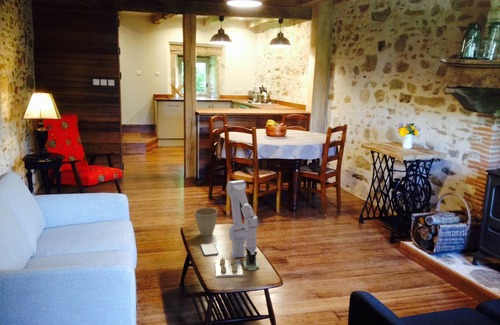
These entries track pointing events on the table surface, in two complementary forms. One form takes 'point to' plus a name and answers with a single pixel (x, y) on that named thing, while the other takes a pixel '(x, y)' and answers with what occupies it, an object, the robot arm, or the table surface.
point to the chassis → (228, 268)
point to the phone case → (209, 249)
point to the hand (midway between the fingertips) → (251, 261)
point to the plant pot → (206, 220)
